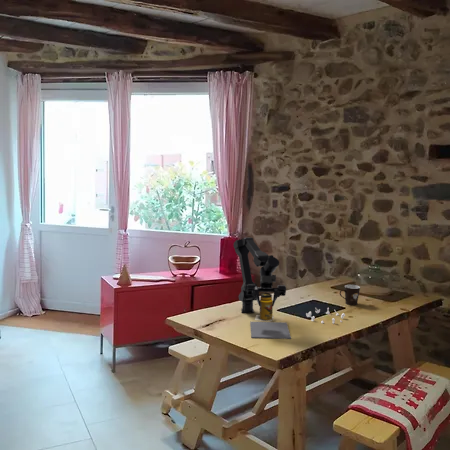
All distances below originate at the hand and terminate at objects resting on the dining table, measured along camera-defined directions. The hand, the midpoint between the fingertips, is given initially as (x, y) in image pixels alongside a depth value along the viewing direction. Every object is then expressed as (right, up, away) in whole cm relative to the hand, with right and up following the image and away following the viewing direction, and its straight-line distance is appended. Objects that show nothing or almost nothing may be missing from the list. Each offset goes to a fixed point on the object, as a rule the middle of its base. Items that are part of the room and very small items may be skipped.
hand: (266, 305), depth 245 cm
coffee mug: (+51, -7, +52) cm, 73 cm away
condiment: (-1, -7, +2) cm, 7 cm away
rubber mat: (+2, -12, +3) cm, 13 cm away
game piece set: (+32, -11, +24) cm, 42 cm away
